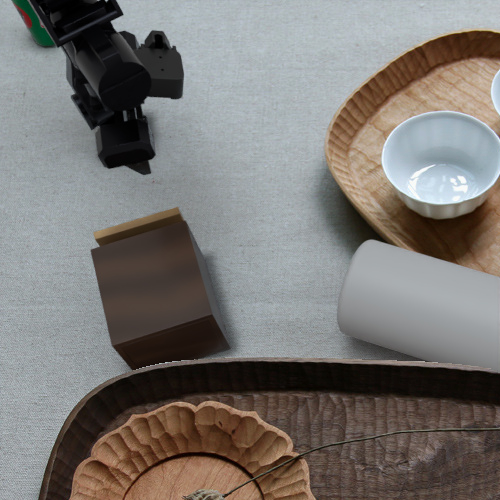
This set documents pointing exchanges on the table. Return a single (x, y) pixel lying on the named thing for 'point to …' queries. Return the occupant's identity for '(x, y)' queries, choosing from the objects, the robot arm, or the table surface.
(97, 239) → the drawer
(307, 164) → the table surface
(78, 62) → the robot arm
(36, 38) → the soda can
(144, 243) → the cabinet
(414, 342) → the cylinder vase
